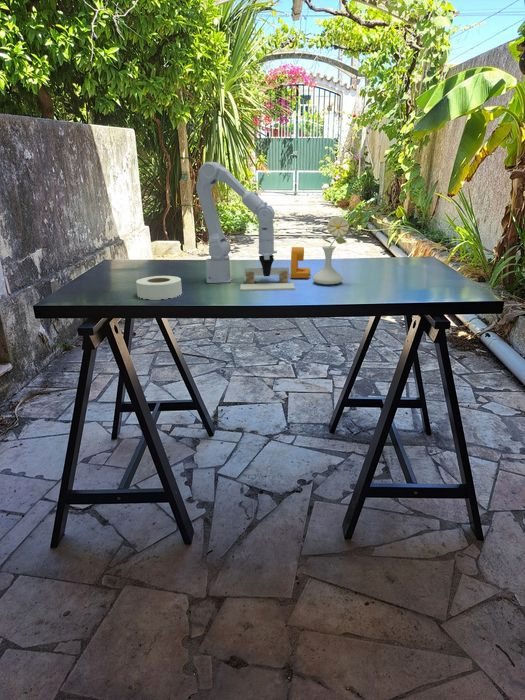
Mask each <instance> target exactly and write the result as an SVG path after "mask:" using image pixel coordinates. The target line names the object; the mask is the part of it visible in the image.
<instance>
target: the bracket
mask: <svg viewBox="0 0 525 700" xmlns="http://www.w3.org/2000/svg"><path fill="white" fill-rule="evenodd" d="M290 251H291V253H290V278H291V279H310V277H309V276H311V268H310V267H299V261H300V262H304V261H305V247H304V246H292V247H291V250H290Z"/></svg>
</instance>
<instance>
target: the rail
mask: <svg viewBox="0 0 525 700" xmlns="http://www.w3.org/2000/svg"><path fill="white" fill-rule="evenodd" d="M280 272H288V276H289V275H290V267H289V266H288V267H271V271H270V276H279V275H280ZM246 273H254V277H255V276H264V274H263V268H262V267H247V268H246V267H245V268H244V276H245V277H246Z"/></svg>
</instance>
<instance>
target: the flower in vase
mask: <svg viewBox="0 0 525 700" xmlns="http://www.w3.org/2000/svg"><path fill="white" fill-rule="evenodd" d="M349 228H350V224H349V222H348V220H347V219H346V218H345V217H343V216H339V215H336V216H334V217H332V218H330V219H329V220H328V223H327V225H326V229H327V232H329V235H331V236H333V237H334V239H333V241H332V242H331V241H330V240H328V239H325V238H324V237H322V240H323V241H325V242H327V243H329V244H330V245H324V246H321V248H322V249H323V251H324V255H325V256H324V257H325V262H324V263H325V264H324V266H323V267H322V268H321V270H319V271H318V272H317V273H315V275H314V276H313V277H312V280H313V282H314V283H316V284H320V285H335V284H339V283H342V281H343V280H344V278H343V276H342V275H341V274H340V272H338V271H337V270H336V269H335V268H334V267H333V266H332V256H333V253H334V250H335V249H336V246H333V244H334V242H336V243H337V244H338V245H342V244H345V243H347V240H346V239H345V238H344V237H342V236H345V235H346V234H348V231H349Z"/></svg>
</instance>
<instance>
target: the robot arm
mask: <svg viewBox="0 0 525 700" xmlns="http://www.w3.org/2000/svg"><path fill="white" fill-rule="evenodd" d="M217 182H220V183H225V184H226V185H227V186H228V187H229V188H230V189H232V190H233V191H234V192H235V193H236V194H237V195H238V196H240V197H241V202H242V204H243V205H244V206H245V207H246V208H247V209H248V210H249V211H250V212H251V213H253V215H255V216H256V220H257V221H258V252H257V253H258V255H259V257H258V260H259V262H260V264H261V268H263V274H264V275H263V276H264V277H270V276H271V275H270V271H271V268H272V264H273V262H274V261H275V258H274V254H277V253H278V251H277V250H275V248H274V247H275V240H274V239H275V237H274V235H275V230H274V229H275V228H274V218H275V215H276V213H275V210H274V208H273V206H271V205H268V204H269V203H268V202H266V201H264V200H263V199H262V198H261V197H260V196H259V193H258V192H257V191H255V192H254V191H253V190H248V189H247V188H246V187H245V186H244V185H243V184H242V183H241V182H240V181H239V180H238V179H237V178H236V177H235V176H234V175H233V173H232V172H231V171H229V170H228V168H226V167H225V166H223V165H222V163H220V162H218V161H206V162H205V161H204V163H203V164H202V165H201V167H200V168H199V170H198V176H197V182H196V186H195V190H196V193H197V197H198V201H199V203H200V204H199V205H200V207H201V211H202V213H203V218H204V222H205V225H206V228H207V232H208V235H209V236H208V241H207V242H208V245H209V246H208V253H209V255H210V258H206V259H205V278H206V283H207V284H210V283H211V284H215V283H216V284H218V283H220V284H223V283H228V284H229V283H232V280H233V279H232V278H233V277H231V266H230V261H231V260H230V255H229V254H230V252H231V249H232V248H231V244H230V242H229V240H227V237H226V235H225V233H224V232H223V229H222V226H221V223H220V219H219V215H218V212H217V207H216V205H215V200H214V197H213V196H214V195H213V193H212V189H213V187H214V186H215V185H216V183H217Z"/></svg>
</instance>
